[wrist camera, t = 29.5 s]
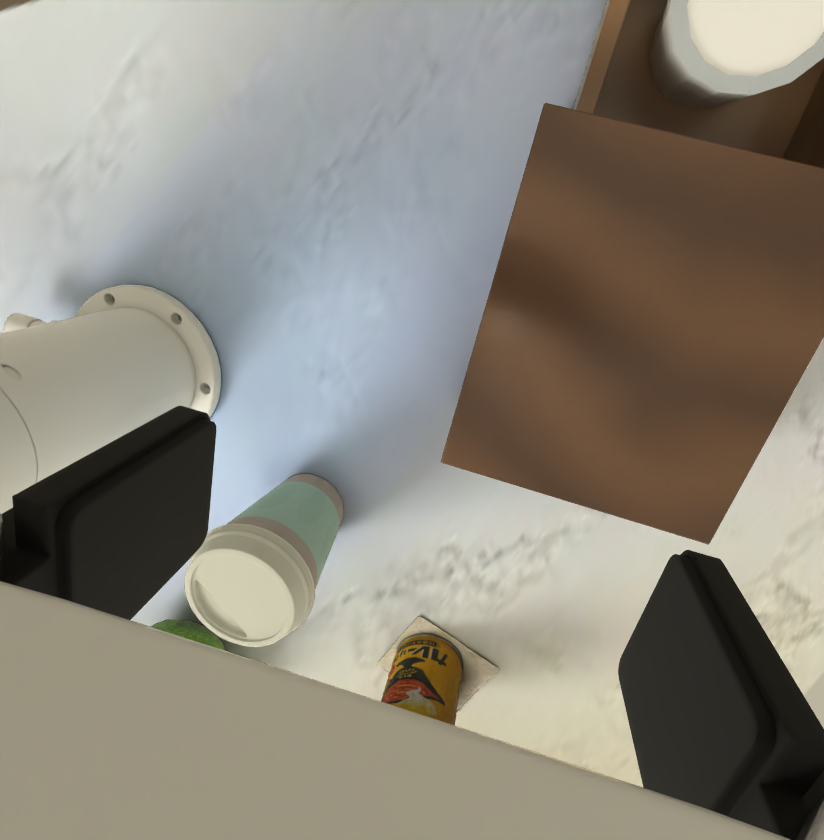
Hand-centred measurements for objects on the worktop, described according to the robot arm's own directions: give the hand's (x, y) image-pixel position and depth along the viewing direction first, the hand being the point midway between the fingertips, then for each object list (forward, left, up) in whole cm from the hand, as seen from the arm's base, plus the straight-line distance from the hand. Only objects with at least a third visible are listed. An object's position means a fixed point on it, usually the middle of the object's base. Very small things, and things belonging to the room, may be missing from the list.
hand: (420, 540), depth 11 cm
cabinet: (+7, +2, -28) cm, 28 cm away
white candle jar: (+6, +16, -26) cm, 31 cm away
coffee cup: (-10, -19, -28) cm, 35 cm away
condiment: (+4, -31, -28) cm, 42 cm away
